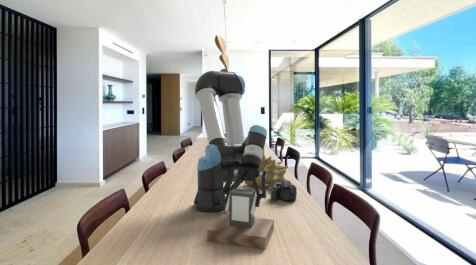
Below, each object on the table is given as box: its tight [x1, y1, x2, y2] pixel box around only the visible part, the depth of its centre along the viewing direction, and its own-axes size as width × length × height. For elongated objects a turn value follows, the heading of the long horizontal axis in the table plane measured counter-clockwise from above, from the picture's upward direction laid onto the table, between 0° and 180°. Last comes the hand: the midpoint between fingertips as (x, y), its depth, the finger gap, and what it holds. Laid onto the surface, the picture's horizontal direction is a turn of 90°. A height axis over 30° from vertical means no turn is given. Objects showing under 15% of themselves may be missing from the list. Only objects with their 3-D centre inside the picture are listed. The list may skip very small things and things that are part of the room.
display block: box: [206, 213, 275, 250], centre depth 108 cm, size 20×16×4 cm
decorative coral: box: [244, 150, 288, 187], centre depth 175 cm, size 26×22×25 cm
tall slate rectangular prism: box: [229, 188, 256, 228], centre depth 107 cm, size 8×5×12 cm, turn 73°
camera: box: [270, 179, 298, 202], centre depth 149 cm, size 13×10×10 cm
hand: (239, 213), depth 104 cm, fingers open, 8 cm apart
